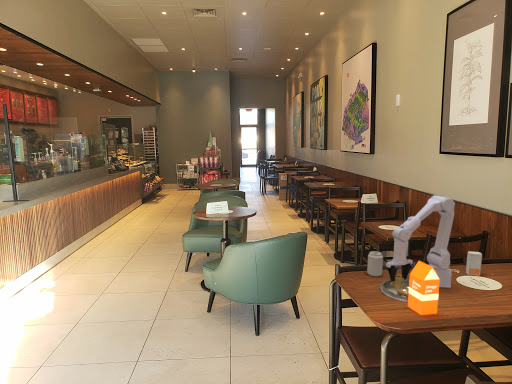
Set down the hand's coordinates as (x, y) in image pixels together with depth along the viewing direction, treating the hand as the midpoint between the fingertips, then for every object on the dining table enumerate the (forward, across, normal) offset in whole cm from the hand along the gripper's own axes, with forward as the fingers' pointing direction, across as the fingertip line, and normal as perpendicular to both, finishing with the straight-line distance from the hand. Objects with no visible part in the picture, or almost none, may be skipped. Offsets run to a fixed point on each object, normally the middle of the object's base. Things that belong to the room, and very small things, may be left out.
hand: (398, 279), depth 181 cm
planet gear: (+3, 0, 0) cm, 3 cm away
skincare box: (+4, -52, 0) cm, 52 cm away
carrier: (+4, 0, +6) cm, 8 cm away
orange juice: (+4, +8, +23) cm, 24 cm away
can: (+4, -2, -19) cm, 20 cm away
